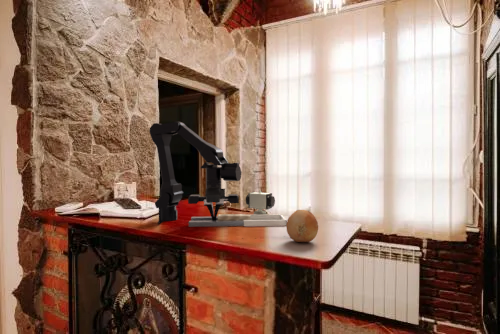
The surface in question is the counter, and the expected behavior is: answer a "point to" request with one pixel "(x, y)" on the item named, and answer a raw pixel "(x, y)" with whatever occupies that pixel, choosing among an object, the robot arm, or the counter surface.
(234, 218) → the block
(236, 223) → the slot rail
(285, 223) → the tray
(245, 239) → the counter surface
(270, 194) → the pneumatic valve
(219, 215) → the block
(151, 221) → the counter surface
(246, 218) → the block
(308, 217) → the onion
